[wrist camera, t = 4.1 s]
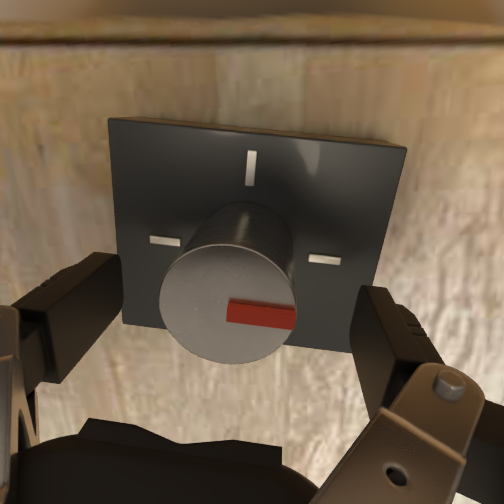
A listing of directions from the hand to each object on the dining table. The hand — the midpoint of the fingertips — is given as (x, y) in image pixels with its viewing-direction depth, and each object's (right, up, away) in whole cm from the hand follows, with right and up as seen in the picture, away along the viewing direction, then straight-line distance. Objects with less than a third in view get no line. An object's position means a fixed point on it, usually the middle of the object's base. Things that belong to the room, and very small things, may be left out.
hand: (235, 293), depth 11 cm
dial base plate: (+1, +3, +7) cm, 7 cm away
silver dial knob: (0, +2, +4) cm, 4 cm away
